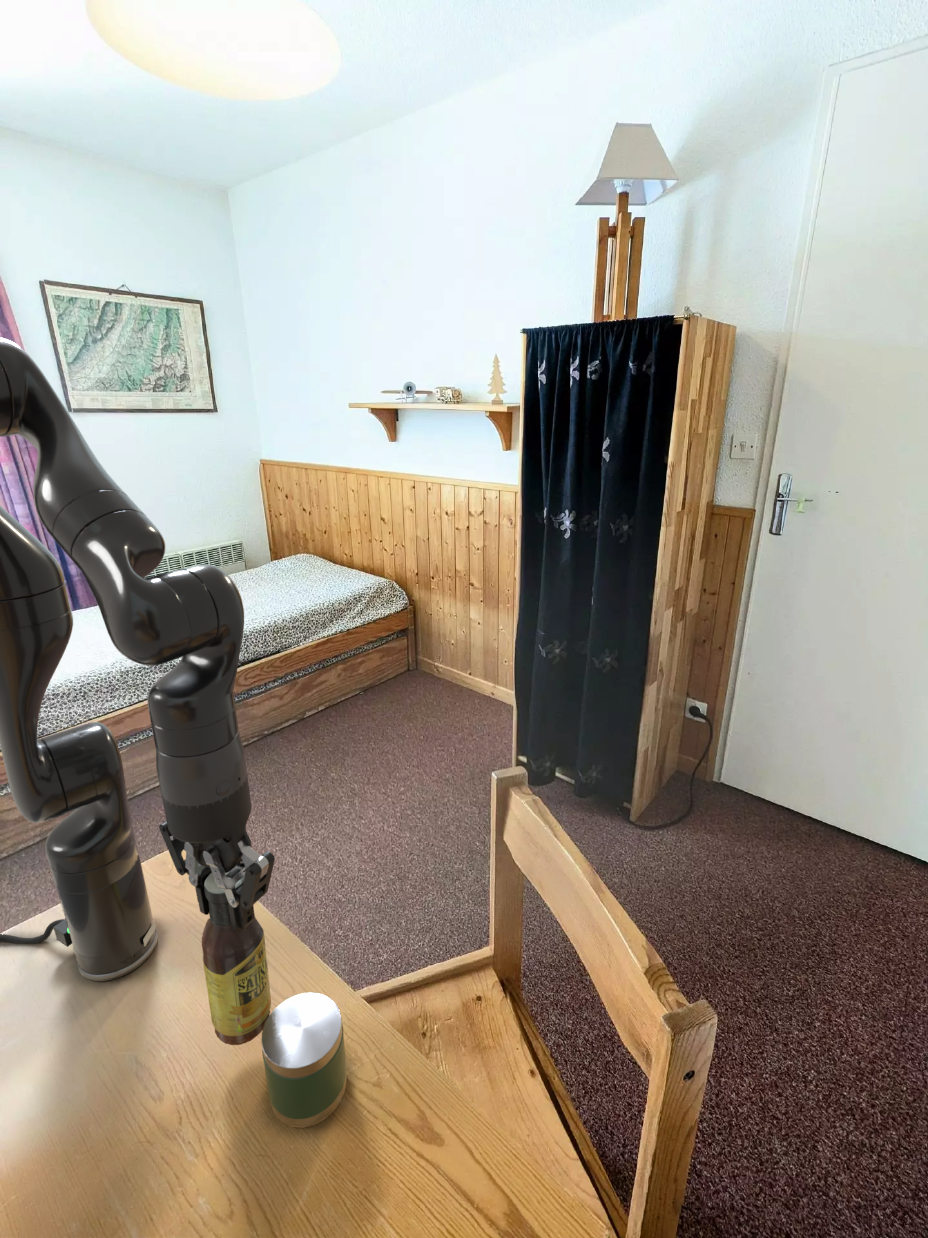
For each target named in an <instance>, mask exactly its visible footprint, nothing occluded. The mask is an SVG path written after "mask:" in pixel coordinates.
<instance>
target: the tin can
mask: <svg viewBox="0 0 928 1238" xmlns="http://www.w3.org/2000/svg"><path fill="white" fill-rule="evenodd" d="M261 1048H262V1049H261V1050H262V1051H261V1052H262V1061H263V1067H264V1073H265V1078H266V1079H265V1080H266V1086H267V1091H268V1097H269V1101H270V1105H271V1109H272V1112H273V1114H274V1115H275V1117H276V1118H277V1119H278V1120H279V1121H280V1122H281V1123H283V1124H284V1125H286V1126H287V1127H290V1128H296V1129H304V1128H305V1129H306V1128H310V1127H313V1126H316V1125H318V1124H320V1123H321V1122H322V1123H323V1122H324V1120H327V1118H329V1117H330V1116H331V1115H332V1114H333V1112H335V1110H337V1108H338V1107H339V1105H340V1103H341V1102H342V1099H343V1098H344V1095H345V1092H346V1088H347V1079H348V1078H347V1071H348V1069H347V1058H346V1057H347V1056H346V1047H345V1034H344V1026H343V1022H342V1014H341V1011H340V1008H339V1006H338V1005H337V1003H336V1002H335V1001H334V999H332V998H331V997H329V996H327V995H326V994H323V993H319V992H313V991H312V992H311V991H310V992H301V993H297V994H295V995H293V996H290V997H288V998H287V999H285V1000H283V1001H282V1002H280V1004H278V1005H277V1006H276V1007H275V1008H274V1009H273V1010H272V1011H271V1012H270V1015H269V1017H268V1019H267V1021H266V1023H265V1025H264V1028H263V1030H262V1031H261Z"/></svg>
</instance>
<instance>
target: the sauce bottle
mask: <svg viewBox="0 0 928 1238" xmlns="http://www.w3.org/2000/svg"><path fill="white" fill-rule="evenodd" d="M233 869H234V868H233ZM228 873H229V872H227V873H225V874H228ZM241 886H242V883H241V880H239V881H238V882H237V883H236V884H235V888H236V890H238V889H239V888H240V887H241ZM204 888H205V896H206V898H207V899H208V901H209V909H210V911H209V914H208V916H209V918H207V920H206V922H205V926H204V928H203V929H202V933H201V934H202V935H201V950H202V962H203V970H204V976H205V984H206V990H207V996H208V1003H209V1004H208V1005H209V1011H210V1018H211V1023H212V1025H213V1028H214V1034H215V1035H216V1037H217V1038H218V1039H219V1040H220V1042H223V1043H224V1044H226V1045H229V1046H240V1045H244V1044H246V1043H248V1042H251V1041H252V1040H254V1039H255V1038H256V1037H257V1036H258V1035H260V1034H262V1032H263V1028H264V1025H265V1023H266V1021H267V1019H268V1017H269V1016H270V1014H271V1007H272V996H271V987H270V979H269V978H270V977H269V967H268V959H267V949H266V942H265V941H266V939H265V931H264V929H263V926H262V925H261V924H260V923H259V920H258V919H257V918H256V917H255V918H254V920H253V921H252V922H251V923H250V924H249V925H248V926H247V927H246V928H245V929H244V930H242V931H241V932H240V933H237V932H236V931H234V930H232V926H231V919H230V913H229V907H228V904H229V902H228V900H227V897H226V894H225V892H224V889H223V888H219V887H217V885H216V882H215V879H214V876H213V874H212V873H211V874H210V875H209V876H208V877H207V879H206V880H205V883H204Z"/></svg>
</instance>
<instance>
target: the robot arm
mask: <svg viewBox="0 0 928 1238" xmlns="http://www.w3.org/2000/svg"><path fill="white" fill-rule="evenodd" d="M13 436H20V437H22V438H23V439H24V440H26V441H27V442H29V444H30V445H32V446H33V447H34V448H35V450H36V451H37V459H36V467H35V472H34V477H33V486H32V490H33V492H32V493H33V494H32V495H33V503H34V507H35V510H36V513H37V516H38V518H39V520H40V523H41V524H42V526H43V527H44V528H45V530H46V531H47V532H48V534H49V535H50V537H51V538H52V539H53V540H54V541H55V543H57V545H58V546H59V547H60V548H61V550H62V551H63V552H64V553H65V554H66V555H67V557H68V558H69V559H70V560H71V561H72V562H73V563H74V565H75V566H77V568H78V569H79V570H80V571H81V573H82V574H83V577H84V578H85V581H86V583H87V584H88V587H89V589H90V591H91V593H92V596H93V597H94V599H95V601H96V604H97V606H98V609H99V611H100V614H101V617H102V620H103V623H104V626H105V629H106V631H107V634H108V637H109V638H110V641H111V643H112V644H113V646H114V647H115V649H116V650H117V651H118V652H119V653H120V654H121V655H122V656H124V657H125V658H127V659H128V660H130V661H132V662H134V663H136V664H139V665H143V666H147V667H155V666H161V665H164V664H167V663H170V662H173V661H175V660H177V659H180V658H181V659H180V660H179V662H178V663H177V665H175V667H173V668H172V669H171V670H170V671H168V672H167V673H165V674H164V675H163V676H161V677H160V678H159V679H158V680H156V682H154V684H153V685H151V687H150V688H149V691H148V693H147V699H146V700H147V709H148V714H149V720H150V724H151V725H150V726H151V729H152V737H153V741H154V746H155V747H154V748H155V765H156V766H155V767H156V772H157V780H158V785H159V789H160V795H161V799H162V805H163V810H164V814H165V821H164V822H162V823H161V824H159V826H158V829H159V832H160V834H161V836H162V839H163V841H164V844H165V845H166V848H167V851H168V853H169V856H170V858H171V860H172V862H173V865H174V868H175V870H176V872H177V874H179V875H180V876H184V875H186V874H187V875H188V881H189V883H190V885H191V886H193V887H194V888H195V893H196V900H197V903H198V906H199V907H198V908H199V912H200V913H202V914H203V915H205V916H209V911H210V909H209V901H208V899H207V898H206V896H205V888H204V883H205V880H206V879H207V877H208V876H209V875H210V874H211V873H212V874H213V876H214V879H215V882H216V885H217V887H219V888H223V889H224V892H225V894H226V897H227V900H228V902H229V904H228V907H229V913H230V919H231V926H232V930H234V931H236V932H237V933H240V932H241V931H242V930H244V929H245V928H246V927H247V926H248V925H249V924H250V923H251V922H252V921H253V920H254V918H256V913H255V909H254V906H255V904H256V903H257V902H258V901H260V899H261V898H263V897H264V896H265V895H266V894H267V893H268V891H269V886H270V882H271V878H272V873H273V870H274V865H275V861H276V859H275V855H274V854H273V853H272V852H271V851H269V850H267V851H265V852H264V853H262V855H261V854H260V853H258V852H257V851H256V850H254V849H253V848H252V840H251V837H250V836H249V834H248V831H247V823H248V820H249V818H250V815H251V813H252V802H251V801H252V800H251V792H250V784H249V777H248V769H247V762H246V754H245V747H244V744H243V741H242V738H241V735H240V731H239V729H240V728H239V724H238V715H237V706H236V701H235V695H234V694H235V693H234V689H235V684H236V678H237V673H238V667H239V661H240V653H241V649H242V642H243V636H244V630H245V628H244V627H245V608H244V603H243V599H242V595H241V593H240V590H239V589H238V587H237V585H236V583H235V582H234V580H233V579H232V578H231V576H229V574H228V573H226V571H224V570H223V569H221V568H220V567H218V566H215V565H212V564H195V565H191V566H187V567H182V568H179V569H175V570H171V571H168V572H167V571H166V572H164V573H161V574H160V573H159V574H155V575H152V576H149V575H151V574H152V573H153V572H154V571H155V570H156V569H157V568H158V567H159V566H160V564H161V563H162V562H163V559H164V556H165V553H166V542H165V541H166V540H165V538H164V536H163V534H162V533H161V532H160V530H159V528H158V527H157V526H156V524H154V522H153V521H152V520H151V519H150V518H149V517H148V516H147V515H146V514H145V513H144V512H143V511H142V509H141V508H140V507H139V506H138V505H137V504H136V503H135V502H134V501H133V499H131V497H130V496H128V494H127V493H126V492H125V490H123V489H122V488H121V486H119V485H118V484H117V482H116V481H115V480H114V479H113V478H112V476H111V475H110V474H109V473H108V472H107V471H106V469H105V468H104V467H103V465H102V464H101V463H100V461H99V460H98V458H97V457H96V455H95V454H94V452H93V451H92V449H91V447H90V446H89V444H88V442H87V440H86V439H85V437H84V435H83V434H82V431H80V429H79V427H78V425H77V424H76V422H75V421H74V419H73V418H72V416H71V415H70V413H69V411H68V410H67V408H66V407H65V405H64V403H63V402H62V400H61V399H60V398H59V396H58V394H57V392H56V391H55V389H54V388H53V386H52V385H51V383H50V382H49V380H48V378H47V377H46V375H45V374H44V372H43V371H42V370H41V368H40V367H39V365H38V364H37V363H36V362H35V361H34V359H33V358H32V357H31V356H30V355H29V354H28V353H27V352H26V350H24V349H23V348H22V347H21V346H20V345H19V344H17V343H16V342H14V341H13V340H10V339H8V338H4V337H0V438H3V437H5V438H6V437H13ZM62 569H63V568H62V567H61V564H60V563H59V561H58V560H57V559H56V557H55V555H53V553H52V552H51V551H50V549H48V548H47V546H45V545H44V544H43V543H42V542H41V540H39V538H37V537H36V536H35V535H33V534H32V532H30V531H29V530H28V528H26V527H25V526H24V525H23V524H21V523H20V522H19V521H18V520H17V519H16V518H15V517H14V516H12V514H10V513H9V512H8V511H7V509H5V507H3V506H2V505H1V504H0V751H1V756H2V760H3V764H4V769H5V773H6V774H5V775H6V777H7V781H8V786H9V791H10V793H11V795H12V799H13V801H14V804H15V806H16V808H17V810H18V812H19V814H20V815H21V816H22V817H23V818H24V819H25V820H27V821H28V822H31V823H33V824H40V823H44V822H48V821H50V820H54V819H57V818H60V817H62V816H65V815H66V814H69V813H70V814H69V815H67V816H66V817H65V818H63V819H62V820H61V821H60V822H59V823H58V824H56V825H55V827H54V828H53V829H52V830H50V832H49V834H48V836H47V838H46V840H45V846H44V847H45V855H46V857H47V858H46V859H47V861H48V865H49V868H50V872H51V876H52V879H53V882H54V886H55V888H56V891H57V896H58V899H59V903H60V905H61V909H62V912H63V916H64V918H61V919H56V920H54V921H52V922H51V923H49V924H48V925H47V926H46V928H45V930H44V932H43V934H40V935H38V936H35V937H34V936H33V937H22V936H15V935H10V934H4V933H0V942H3V943H4V942H5V943H11V944H15V945H35V944H39V943H42V942H44V941H46V940H47V939H48V938H49V937H50V936H51V934H52V933H53V931H54V935H55V938H56V940H57V941H58V942H60V943H61V944H62V945H63V946H66V947H67V948H68V947H69V946H71V945H72V947H73V951H74V955H75V958H76V965H77V969H78V972H79V973H80V975H81V976H82V977H83V978H84V979H87V980H89V981H94V982H107V981H110V980H114V979H115V980H116V979H118V978H120V977H123V976H125V975H127V974H130V973H131V972H133V971H134V970H136V969H138V968H139V967H140V966H141V965H142V964H144V963H145V962H146V961H147V960H148V958H149V957H150V956H151V955H152V953H153V952H154V950H155V948H156V946H157V943H158V938H159V937H158V936H159V935H158V930H157V923H156V920H155V919H154V916H153V911H152V906H151V903H150V897H149V893H148V889H147V884H146V880H145V876H144V871H143V866H142V863H141V858H140V854H139V849H138V844H137V839H136V836H135V831H134V826H133V820H132V815H131V810H130V805H129V799H128V793H127V787H126V779H125V771H124V765H123V759H122V755H121V751H120V748H119V745H118V741H117V740H116V738H115V735H114V734H113V732H112V731H111V730H110V728H109V727H107V726H106V725H105V724H104V723H101V722H99V721H92V722H88V723H84V724H80V725H78V726H75V727H72V728H69V729H65V730H62V731H59V732H55V733H53V734H50V735H47V736H44V737H41V738H38V726H39V719H40V713H41V707H42V703H43V700H44V697H45V694H46V692H47V689H48V687H49V685H50V683H51V681H52V678H53V677H54V674H55V672H56V670H57V668H58V666H59V664H60V662H61V660H62V658H63V656H64V654H65V651H66V649H67V647H68V645H69V642H70V639H71V636H72V633H73V626H74V615H73V610H72V606H71V602H70V598H69V593H68V589H67V585H66V582H65V581H66V580H65V576H64V572H63V570H62ZM147 576H148V577H147ZM183 851H184V852H185V859H184V857H183V854H182V852H183ZM233 868H234V869H233ZM227 872H229V873H228V874H225V873H227ZM239 880H241V883H242V886H241V887H240V888H239V889H238V890H236V888H235V884H236V883H237V882H238V881H239ZM2 934H3V935H2Z"/></svg>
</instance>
